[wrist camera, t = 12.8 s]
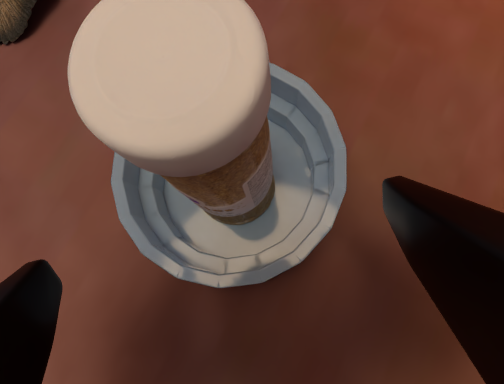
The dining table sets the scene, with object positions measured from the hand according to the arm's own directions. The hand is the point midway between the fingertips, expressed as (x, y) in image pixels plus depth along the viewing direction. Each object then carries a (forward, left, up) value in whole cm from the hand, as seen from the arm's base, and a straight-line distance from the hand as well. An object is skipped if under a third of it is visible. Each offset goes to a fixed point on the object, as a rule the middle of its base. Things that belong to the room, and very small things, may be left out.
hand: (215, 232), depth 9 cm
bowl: (+2, -3, -11) cm, 12 cm away
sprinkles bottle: (+2, -3, -11) cm, 12 cm away
